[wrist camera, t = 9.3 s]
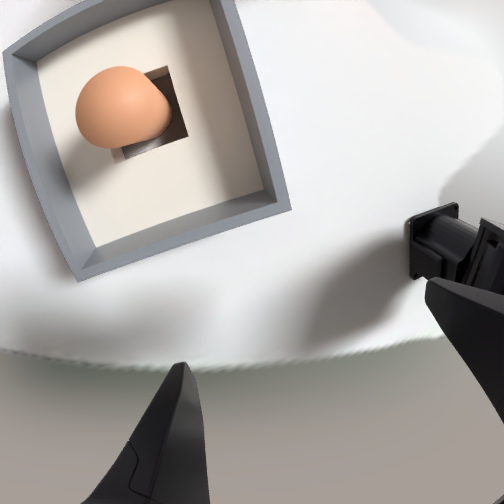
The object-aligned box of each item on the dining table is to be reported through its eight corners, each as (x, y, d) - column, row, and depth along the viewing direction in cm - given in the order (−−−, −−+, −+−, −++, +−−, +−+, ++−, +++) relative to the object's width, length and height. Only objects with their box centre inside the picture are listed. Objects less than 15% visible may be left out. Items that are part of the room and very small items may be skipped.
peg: (178, 129, 17) (165, 129, 9) (131, 147, 16) (88, 161, 9) (164, 84, 15) (143, 53, 8) (117, 102, 15) (67, 88, 8)
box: (211, -2, 13) (219, -41, 8) (266, 187, 19) (291, 210, 14) (44, 65, 12) (2, 52, 7) (103, 243, 19) (77, 282, 14)
